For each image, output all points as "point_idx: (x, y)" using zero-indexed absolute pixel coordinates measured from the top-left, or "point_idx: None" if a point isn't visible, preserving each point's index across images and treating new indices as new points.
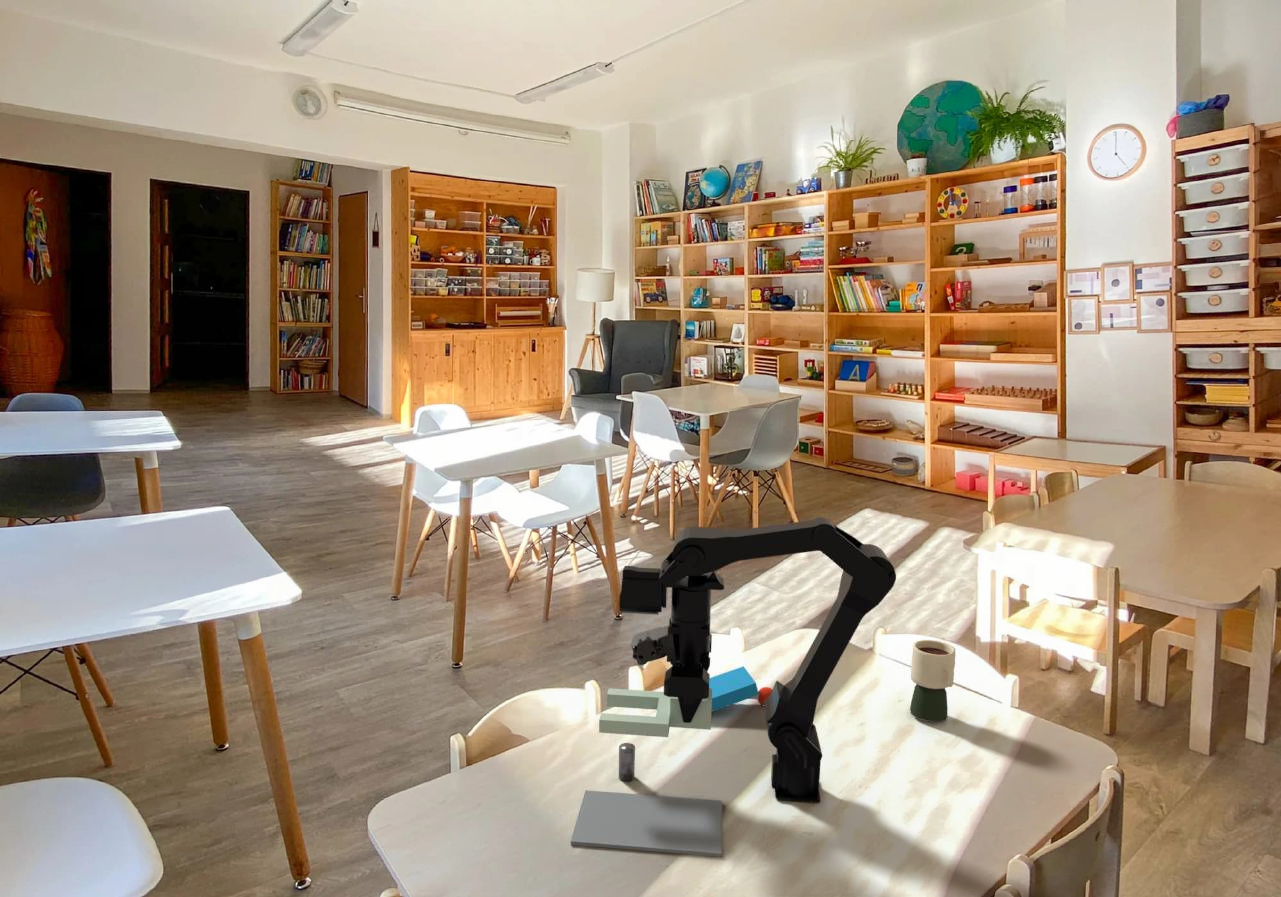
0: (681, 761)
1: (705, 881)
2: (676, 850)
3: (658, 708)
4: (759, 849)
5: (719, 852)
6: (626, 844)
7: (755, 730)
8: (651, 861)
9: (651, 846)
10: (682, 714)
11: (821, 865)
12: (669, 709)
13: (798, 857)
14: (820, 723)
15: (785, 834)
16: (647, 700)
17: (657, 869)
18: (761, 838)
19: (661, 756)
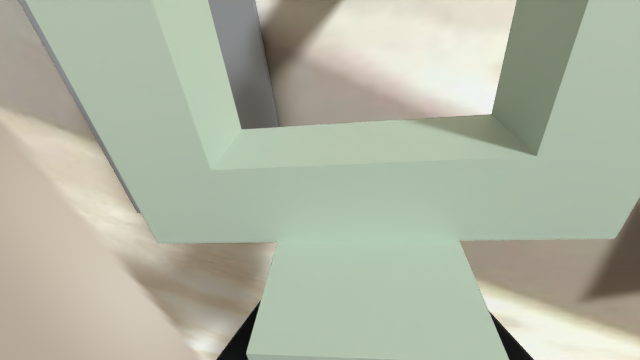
0: (463, 106)
1: (70, 189)
2: (99, 141)
3: (336, 174)
4: (190, 253)
5: (138, 209)
6: (38, 28)
7: (602, 253)
8: (49, 94)
9: (73, 91)
10: (255, 310)
11: (196, 308)
12: (340, 236)
13: (198, 290)
14: (600, 339)
15: (242, 281)
16: (549, 40)
17: (38, 110)
18: (218, 256)
19: (496, 41)
